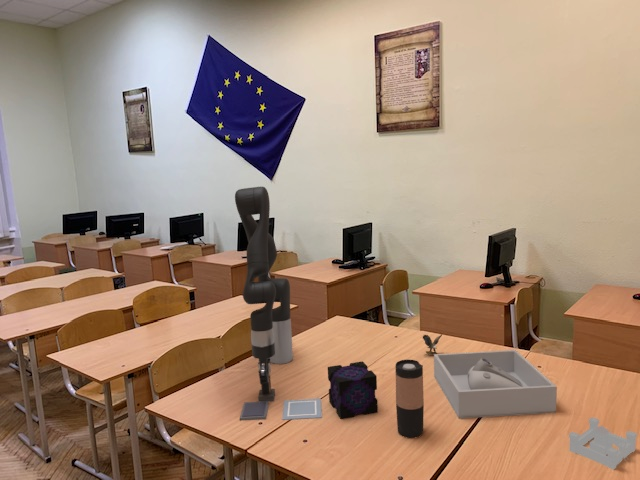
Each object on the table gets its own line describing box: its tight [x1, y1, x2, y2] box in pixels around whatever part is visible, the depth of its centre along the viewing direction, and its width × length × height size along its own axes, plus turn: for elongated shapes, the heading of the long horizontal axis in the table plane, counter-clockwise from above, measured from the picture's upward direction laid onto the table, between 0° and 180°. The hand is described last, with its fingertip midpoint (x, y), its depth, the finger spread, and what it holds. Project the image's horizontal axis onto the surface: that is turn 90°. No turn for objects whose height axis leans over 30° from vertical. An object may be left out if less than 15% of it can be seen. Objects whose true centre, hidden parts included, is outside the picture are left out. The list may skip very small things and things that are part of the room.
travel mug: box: [394, 359, 425, 439], centre depth 137 cm, size 8×8×20 cm
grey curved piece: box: [468, 358, 523, 390], centre depth 158 cm, size 16×17×11 cm
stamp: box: [257, 374, 276, 403], centre depth 162 cm, size 5×5×8 cm
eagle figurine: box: [422, 333, 443, 357], centre depth 193 cm, size 8×7×9 cm
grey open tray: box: [433, 349, 558, 419], centre depth 158 cm, size 29×29×8 cm
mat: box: [281, 398, 323, 421], centre depth 154 cm, size 12×12×1 cm
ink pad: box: [239, 401, 270, 421], centre depth 154 cm, size 10×8×1 cm
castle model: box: [568, 417, 638, 470], centre depth 124 cm, size 15×15×7 cm
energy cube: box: [327, 361, 379, 420], centre depth 154 cm, size 12×12×12 cm
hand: (266, 390), depth 163 cm, fingers closed on stamp, 3 cm apart
